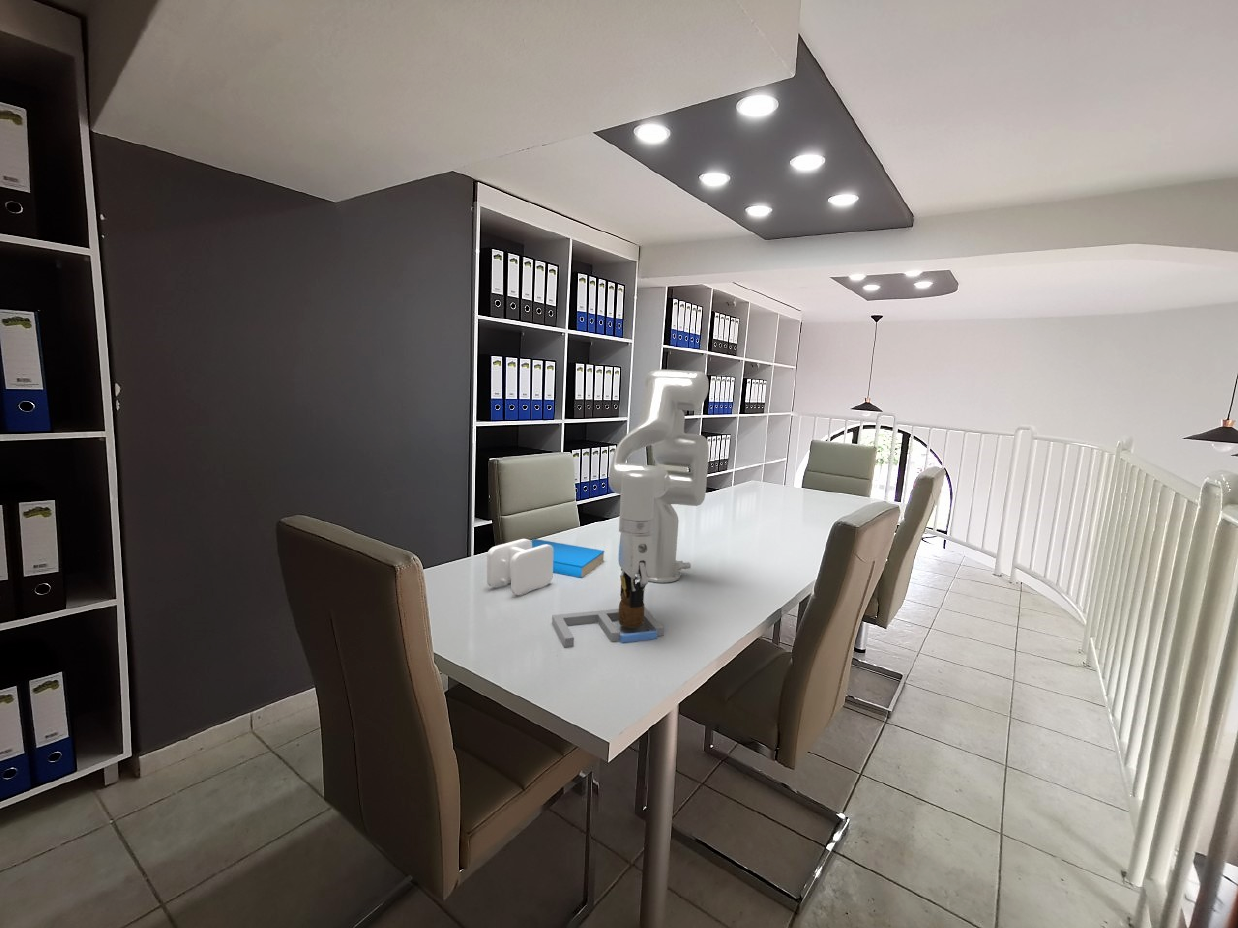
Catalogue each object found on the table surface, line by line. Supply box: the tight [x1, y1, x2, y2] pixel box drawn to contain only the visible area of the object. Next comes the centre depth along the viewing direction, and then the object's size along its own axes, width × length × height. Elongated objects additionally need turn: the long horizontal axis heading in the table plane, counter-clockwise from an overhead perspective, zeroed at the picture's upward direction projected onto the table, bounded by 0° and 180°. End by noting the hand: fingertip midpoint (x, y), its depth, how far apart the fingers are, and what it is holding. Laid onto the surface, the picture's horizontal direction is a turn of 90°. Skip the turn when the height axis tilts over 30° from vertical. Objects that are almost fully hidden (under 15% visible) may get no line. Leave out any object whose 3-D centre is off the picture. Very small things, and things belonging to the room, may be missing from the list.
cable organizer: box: [486, 538, 554, 596], centre depth 150 cm, size 15×11×12 cm
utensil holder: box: [617, 574, 645, 629], centre depth 128 cm, size 6×6×12 cm
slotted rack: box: [551, 606, 665, 648], centre depth 127 cm, size 23×13×2 cm, turn 110°
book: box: [530, 538, 605, 579], centre depth 171 cm, size 17×4×25 cm
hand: (631, 600), depth 128 cm, fingers closed on utensil holder, 5 cm apart
